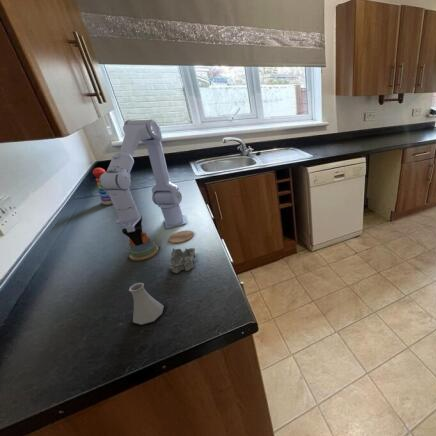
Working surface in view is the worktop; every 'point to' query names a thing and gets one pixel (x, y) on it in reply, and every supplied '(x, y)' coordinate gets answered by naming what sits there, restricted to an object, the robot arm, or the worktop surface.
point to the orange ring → (144, 238)
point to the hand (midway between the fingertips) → (139, 240)
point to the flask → (144, 305)
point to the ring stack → (143, 250)
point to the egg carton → (182, 259)
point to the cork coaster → (181, 236)
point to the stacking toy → (104, 197)
